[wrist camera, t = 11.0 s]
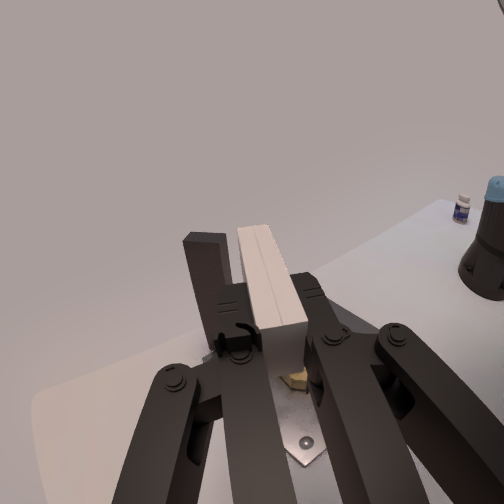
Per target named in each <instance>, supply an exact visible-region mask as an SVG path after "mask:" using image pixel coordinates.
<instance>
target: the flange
mask: <svg viewBox="0 0 504 504" xmlns="http://www.w3.org/2000/svg"><path fill="white" fill-rule="evenodd" d="M327 299H328V298H327ZM328 301H329V303H330V305H331V307H332V309H333V311H334V312H335V314H336V316H337V318H338V320H339V322H340V323H342V324H344V325H346V326H347V327H349V328H350V329H351V331H352V332H356V333H364V334H378V333H379V329H377V328H376V327H374V326H372V325H371V324H369V323H368V322H366V321H364V320H363V319H361V318H359V317H358V316H356V315H354V314H353V313H351V312H349V311H348V310H346V309H344V308H343V307H341V306H339V305H338V304H336V303H334V302H333V301H331V300H329V299H328ZM208 347H209V345H208ZM216 353H217V351H214V352H212V353H210V354H209V355H207V356H205V357H203V358H202V360H203V363H205V362H207V361H209V360H210V359H211V358H213V357H214V355H215V354H216ZM304 367H305V365H304ZM269 382H270V386H271V391H272V395H273V400H274V404H275V409H276V413H277V418H278V422H279V427H280V431H281V435H282V440H283V444H284V449H285V451H286V452H287V453H288V454H289V455H291V456H292V457H293V458H294V459H295V460H296V461H297V462H298V463H299V464H301V465H302V466H303V467H304V468H305V467H306V466H307V465H308V464H309V463H311V462H312V461H313V460H314V459H315V458H317V457H318V456H319V455H320V454H321V453H322V452H323V451H325V450H326V449H327V448H326V444H325V441H324V438H323V435H322V431H321V428H320V425H319V421H318V418H317V415H316V412H315V408H314V405H313V402H312V399H311V395H310V392H309V394H306V393H305V390H301V389H293V388H291V387H290V386H289V385H288V384H287V383H286V382H285V381H284V379H283V378H282V377H281V376H279V377H273V378H269Z"/></svg>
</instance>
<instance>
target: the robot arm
mask: <svg viewBox="0 0 504 504" xmlns="http://www.w3.org/2000/svg"><path fill="white" fill-rule="evenodd" d="M498 3H499V6H500V8H501V10H502V12H503V14H504V0H498ZM484 199H485V202H484V207H483V211H482V215H481V219H480V223H479V226H478V230H477V234H476V237H475V240H474V241H473V243H472V244H471V246H470V247H469V248H468V250H467V251H466V253H465V254H464V256H463V257H462V259H461V262H460V265H459V268H458V271H459V275H460V277H461V279H462V280H463V282H464V283H465V284H466V285H467V286H468V287H469V288H470V289H472V290H473V291H474V292H476V293H477V294H479V295H481V296H483V297H485V298H488V299H492V300H503V299H504V176H494V177H492V178H491V179H490V180H489V183H488V187H487V191H486V194H485V197H484ZM237 233H238V242H239V250H240V258H241V266H242V274H243V280H244V283H237V284H230V285H223V286H221V288H220V289H219V291H218V293H217V309H218V326H219V328H218V329H217V330H216V332H215V334H214V338H213V341H214V344H215V348H216V351H217V353H216V354H215V355H214V357H213V358H211V359H210V360H209V361H207V362H205V363H203V364H201V365H198V366H195V367H193V368H190V367H189V366H187V365H184V364H181V363H178V364H170V365H167V366H165V367H163V368H162V369H161V370H159V371H158V373H157V374H156V376H155V377H154V380H153V382H152V385H151V387H150V390H149V393H148V395H147V398H146V401H145V404H144V406H143V409H142V412H141V415H140V417H139V420H138V423H137V426H136V429H135V432H134V434H133V437H132V440H131V443H130V446H129V449H128V452H127V455H126V458H125V461H124V464H123V467H122V471H121V474H120V477H119V480H118V483H117V487H116V490H115V493H114V497H113V500H112V504H197V502H198V498H199V493H200V488H201V483H202V478H203V473H204V468H205V463H206V458H207V453H208V449H209V444H210V439H211V434H212V429H213V424H214V421H215V420H218V419H220V418H223V420H224V430H225V440H226V449H227V457H228V466H229V474H230V481H231V489H232V496H233V503H234V504H297V500H296V496H295V492H294V487H293V483H292V479H291V475H290V470H289V466H288V462H287V457H286V453H285V449H284V444H283V440H282V435H281V431H280V427H279V422H278V418H277V413H276V409H275V404H274V400H273V395H272V391H271V386H270V382H269V378H273V377H279V376H284V375H289V374H294V373H299V372H303V370H304V365H305V368H306V371H307V381H306V388H305V393H306V394H309V392H310V395H311V399H312V402H313V405H314V408H315V412H316V415H317V418H318V421H319V425H320V428H321V431H322V435H323V438H324V441H325V444H326V448H327V451H328V454H329V458H330V461H331V464H332V468H333V471H334V475H335V478H336V481H337V485H338V488H339V492H340V495H341V498H342V502H343V504H430V503H429V500H428V497H427V495H426V492H425V489H424V487H423V484H422V481H421V479H420V476H419V474H418V471H417V469H416V466H415V464H414V461H413V459H412V456H411V454H410V452H409V449H408V447H407V445H408V446H409V447H410V449H411V450H412V451H413V453H414V454H415V455H416V456H417V458H418V459H419V460H420V461H421V463H422V464H423V465H424V467H425V468H426V469H427V470H428V472H429V473H430V474H431V475H432V477H433V478H434V479H435V480H436V482H437V483H438V484H439V486H440V487H441V488H442V489H443V491H444V492H445V493H446V494H447V496H448V497H449V498H450V500H451V501H452V502H453V503H454V504H504V426H503V425H502V423H501V422H500V421H499V420H498V419H497V418H496V417H495V415H494V414H493V413H492V412H491V411H490V410H489V409H488V408H487V406H486V405H485V404H484V403H483V402H482V401H481V400H480V399H479V398H478V397H477V396H476V394H475V393H474V392H473V391H472V390H471V389H470V388H469V387H468V386H467V385H466V384H465V383H464V382H463V381H462V380H461V379H460V378H459V377H458V376H457V375H456V373H455V372H454V371H453V370H452V369H451V368H450V367H449V366H448V365H447V364H446V363H445V362H444V361H443V360H442V359H441V358H440V357H439V356H438V355H437V354H436V353H435V352H434V351H433V350H432V349H431V348H429V347H428V346H427V345H426V344H425V343H424V342H423V341H422V340H421V339H420V338H419V337H418V336H417V335H416V334H415V333H414V332H413V331H412V330H411V329H409V328H408V327H407V326H405V325H403V324H399V323H389V324H386V325H384V326H383V327H382V328H381V329H380V330H379V333H378V334H364V333H356V332H352V331H351V329H350V328H349V327H347V326H346V325H344V324H342V323H340V322H339V320H338V318H337V316H336V314H335V312H334V311H333V309H332V307H331V305H330V303H329V301H328V299H327V297H326V296H325V293H324V291H323V290H322V289H321V286H320V284H319V282H318V280H317V279H316V278H315V277H314V276H313V275H311V274H310V273H309V272H304V273H298V274H292V275H289V273H288V270H287V268H286V266H285V263H284V261H283V259H282V256H281V254H280V252H279V250H278V247H277V245H276V242H275V240H274V238H273V235H272V233H271V231H270V229H269V226H268V224H265V225H257V226H249V227H242V228H237Z"/></svg>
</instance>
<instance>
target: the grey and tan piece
mask: <svg viewBox="0 0 504 504" xmlns="http://www.w3.org/2000/svg"><path fill="white" fill-rule="evenodd" d="M183 246H184V250H185V255H186V259H187V263H188V268H189V272H190V276H191V281H192V285H193V289H194V293H195V297H196V301H197V305H198V308H199V312H200V316H201V320H202V323H203V327H204V331H205V334H206V338H207V341H208V345H209V348H210V349H211V350H216V348H215V344H214V341H213V338H214V334H215V332H216V330H217V329H218V328H219V326H218V309H217V293H218V291H219V289H220V288H221V286H223V285H230V284H233V283H232V276H231V269H230V262H229V254H228V246H227V239H226V234H224V233H206V232H205V233H204V232H190V233H189V234H188V235H187V236H186V238H185V239H184V240H183ZM281 377H282V378H283V379H284V381H285V382H286V383H287V384H288V385H289V386H290V387H291V388H293V389H301V390H305V388H306V381H307V371H306V368H305V367H304V370H303V372H299V373H294V374H289V375H284V376H281Z"/></svg>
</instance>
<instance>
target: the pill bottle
mask: <svg viewBox="0 0 504 504" xmlns="http://www.w3.org/2000/svg"><path fill="white" fill-rule="evenodd" d="M469 201H470V196H468V195H466V194H462V193H460V194H459V199H458V200H457V201H456V206H455V210H454V215H453V220H454V221H456V222H457V223H460V224H466V222H467V218H468V214H469V209H470V204H469Z"/></svg>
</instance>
